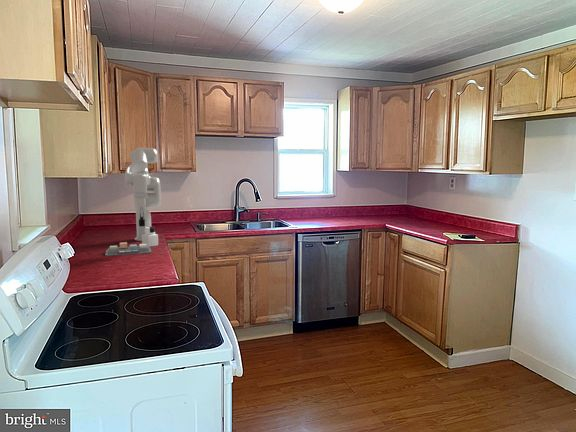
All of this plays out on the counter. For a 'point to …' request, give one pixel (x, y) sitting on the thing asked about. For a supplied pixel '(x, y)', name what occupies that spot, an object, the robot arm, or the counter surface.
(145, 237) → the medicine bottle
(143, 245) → the cream key
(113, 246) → the sage key
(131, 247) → the slate key
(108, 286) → the counter surface
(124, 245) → the terracotta key
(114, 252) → the keypad board
